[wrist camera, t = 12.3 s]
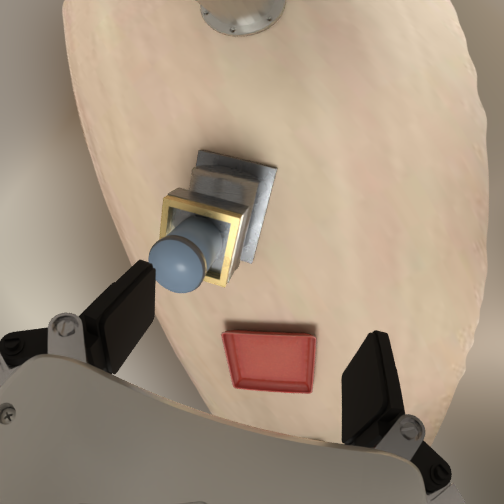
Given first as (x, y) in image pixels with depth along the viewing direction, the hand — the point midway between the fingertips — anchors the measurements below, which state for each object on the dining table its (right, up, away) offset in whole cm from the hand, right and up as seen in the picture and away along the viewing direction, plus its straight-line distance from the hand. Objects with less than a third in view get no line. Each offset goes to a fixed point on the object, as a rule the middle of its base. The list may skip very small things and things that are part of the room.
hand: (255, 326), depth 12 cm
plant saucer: (+4, -19, +47) cm, 51 cm away
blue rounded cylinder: (-6, +4, +22) cm, 24 cm away
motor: (-4, +10, +34) cm, 35 cm away
